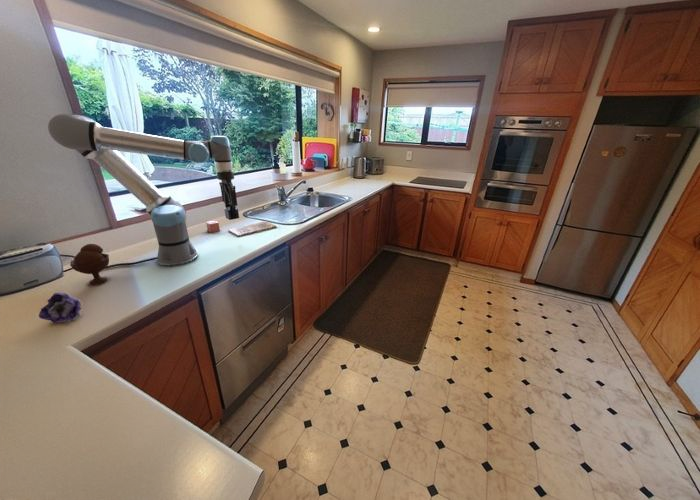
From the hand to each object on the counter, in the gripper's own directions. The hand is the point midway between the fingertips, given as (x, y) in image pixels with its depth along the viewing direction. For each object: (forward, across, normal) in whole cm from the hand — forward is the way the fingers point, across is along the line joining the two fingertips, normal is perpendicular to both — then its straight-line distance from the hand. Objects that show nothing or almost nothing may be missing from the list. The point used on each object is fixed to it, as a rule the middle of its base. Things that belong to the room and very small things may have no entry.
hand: (232, 217), depth 143 cm
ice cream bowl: (+12, -9, +57) cm, 59 cm away
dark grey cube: (0, 0, 0) cm, 0 cm away
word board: (+13, +10, -15) cm, 22 cm away
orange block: (+13, +22, +4) cm, 25 cm away
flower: (+12, -29, +66) cm, 73 cm away
